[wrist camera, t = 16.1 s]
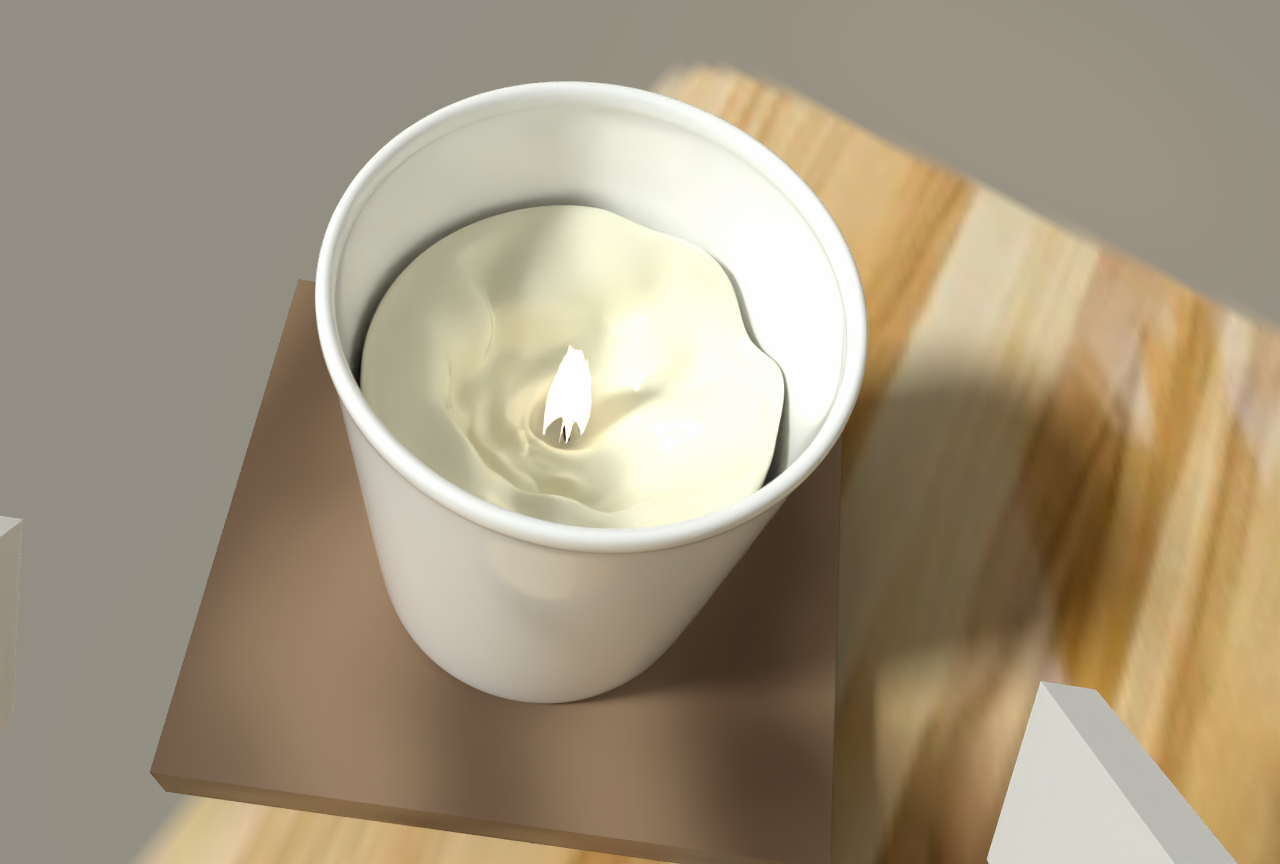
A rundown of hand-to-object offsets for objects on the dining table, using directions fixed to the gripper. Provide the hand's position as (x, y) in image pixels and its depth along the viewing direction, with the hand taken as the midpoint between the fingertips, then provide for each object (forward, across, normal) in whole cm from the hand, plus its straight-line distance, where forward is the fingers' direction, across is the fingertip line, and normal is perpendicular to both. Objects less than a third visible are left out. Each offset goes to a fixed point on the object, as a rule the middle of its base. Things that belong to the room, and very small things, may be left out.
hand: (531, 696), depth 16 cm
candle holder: (+16, 0, -4) cm, 16 cm away
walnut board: (+17, 0, -6) cm, 18 cm away
